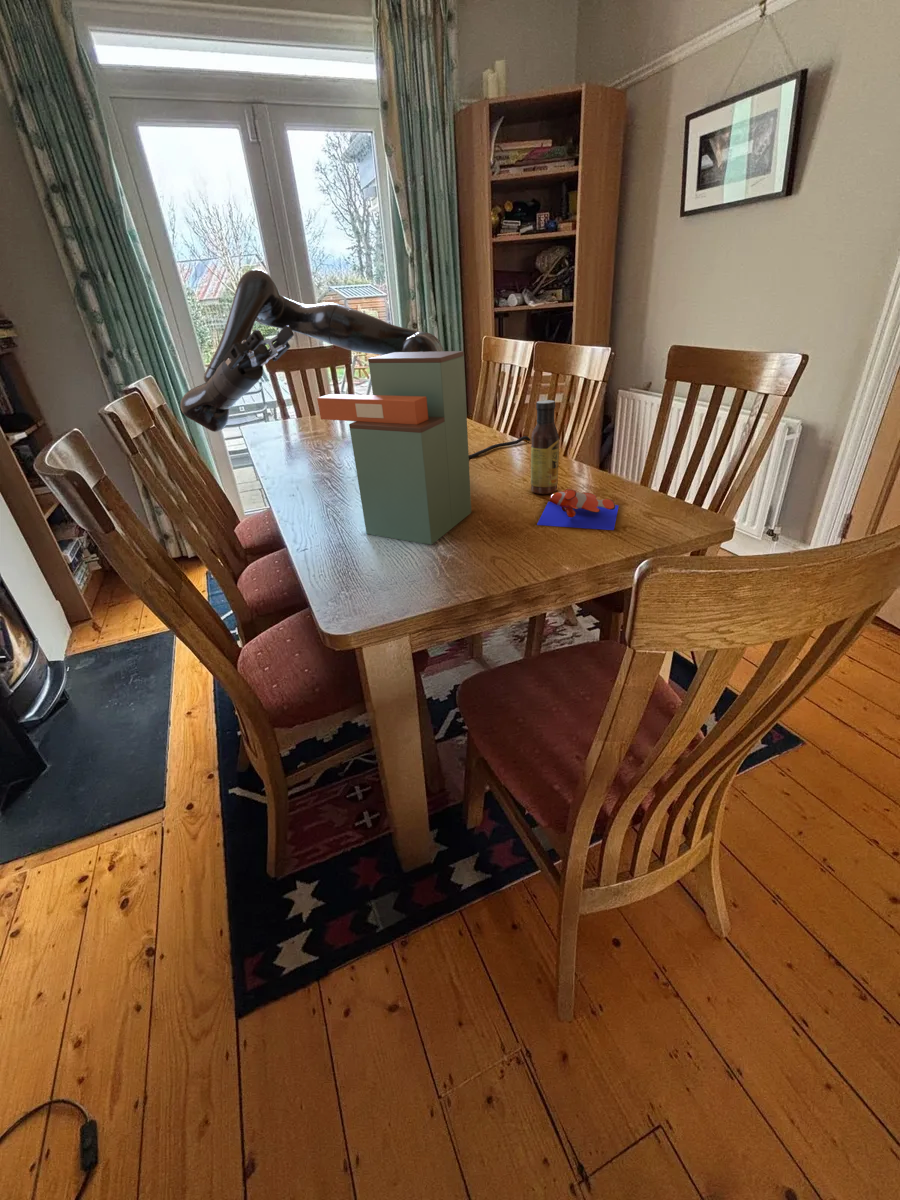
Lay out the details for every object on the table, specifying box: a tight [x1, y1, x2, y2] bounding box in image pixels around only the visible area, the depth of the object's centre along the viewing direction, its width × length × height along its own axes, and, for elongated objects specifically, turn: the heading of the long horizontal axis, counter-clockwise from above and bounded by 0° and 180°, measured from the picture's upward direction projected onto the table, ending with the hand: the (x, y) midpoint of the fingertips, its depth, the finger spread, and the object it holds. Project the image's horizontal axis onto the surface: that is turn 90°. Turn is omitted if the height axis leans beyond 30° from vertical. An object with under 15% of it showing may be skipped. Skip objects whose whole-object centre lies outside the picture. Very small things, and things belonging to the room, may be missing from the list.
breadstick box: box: [316, 393, 428, 425], centre depth 98 cm, size 22×4×4 cm, turn 62°
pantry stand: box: [348, 350, 472, 546], centre depth 103 cm, size 16×18×32 cm
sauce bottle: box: [530, 399, 560, 495], centre depth 118 cm, size 7×6×20 cm
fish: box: [548, 488, 617, 518], centre depth 108 cm, size 13×5×9 cm
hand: (275, 331), depth 107 cm, fingers open, 8 cm apart
